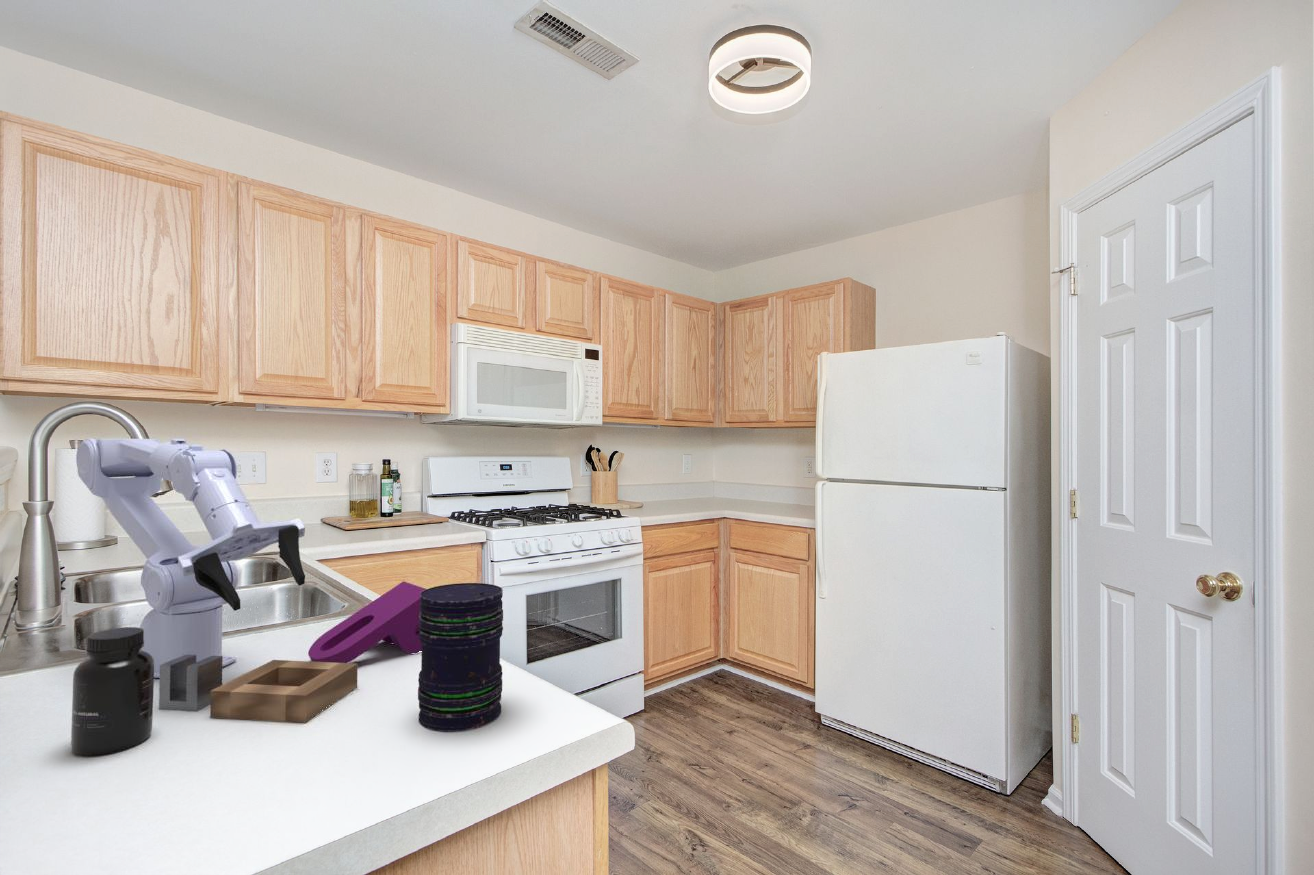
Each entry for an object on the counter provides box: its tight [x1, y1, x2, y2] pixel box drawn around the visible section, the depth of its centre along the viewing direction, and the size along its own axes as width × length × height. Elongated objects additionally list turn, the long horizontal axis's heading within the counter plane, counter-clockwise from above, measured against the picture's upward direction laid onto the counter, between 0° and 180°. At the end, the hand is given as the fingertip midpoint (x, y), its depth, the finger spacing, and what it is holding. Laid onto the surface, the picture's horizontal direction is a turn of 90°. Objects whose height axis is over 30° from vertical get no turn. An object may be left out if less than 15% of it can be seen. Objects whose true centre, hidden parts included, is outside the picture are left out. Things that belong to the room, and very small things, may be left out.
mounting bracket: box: [307, 580, 427, 663], centre depth 101 cm, size 9×8×18 cm
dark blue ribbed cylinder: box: [417, 582, 504, 733], centre depth 79 cm, size 10×10×15 cm
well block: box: [209, 659, 359, 724], centre depth 82 cm, size 12×11×3 cm
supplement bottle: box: [70, 626, 155, 757], centre depth 71 cm, size 7×7×12 cm
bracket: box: [158, 654, 224, 713], centre depth 81 cm, size 5×4×6 cm
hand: (270, 592), depth 84 cm, fingers open, 7 cm apart
